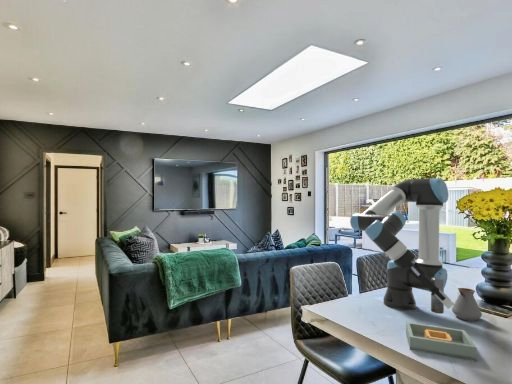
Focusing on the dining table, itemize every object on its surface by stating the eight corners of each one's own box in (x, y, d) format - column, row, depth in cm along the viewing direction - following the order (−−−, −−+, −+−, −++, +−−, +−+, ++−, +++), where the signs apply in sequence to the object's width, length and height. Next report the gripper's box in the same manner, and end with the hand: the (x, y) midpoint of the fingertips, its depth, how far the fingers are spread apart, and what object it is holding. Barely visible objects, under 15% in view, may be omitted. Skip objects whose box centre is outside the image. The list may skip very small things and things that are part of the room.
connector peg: (430, 309, 116) (430, 277, 116) (442, 310, 114) (442, 278, 115) (432, 312, 112) (432, 279, 113) (444, 314, 111) (444, 280, 111)
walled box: (406, 333, 124) (406, 321, 124) (464, 342, 116) (464, 330, 117) (409, 349, 110) (409, 336, 110) (476, 361, 102) (476, 347, 103)
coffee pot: (454, 311, 150) (454, 280, 151) (483, 317, 143) (483, 285, 143) (445, 323, 134) (445, 289, 135) (477, 331, 127) (477, 294, 127)
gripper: (391, 257, 127) (436, 303, 121) (393, 264, 112) (446, 318, 105) (405, 245, 126) (452, 291, 119) (410, 251, 110) (464, 305, 103)
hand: (449, 304), depth 112 cm, fingers closed on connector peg, 4 cm apart
